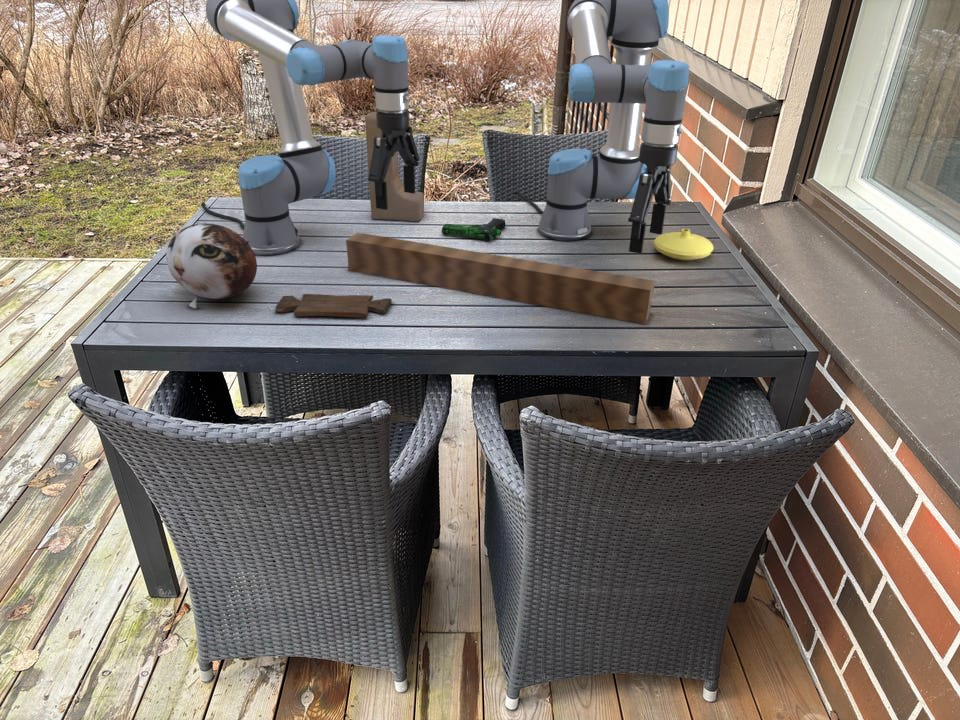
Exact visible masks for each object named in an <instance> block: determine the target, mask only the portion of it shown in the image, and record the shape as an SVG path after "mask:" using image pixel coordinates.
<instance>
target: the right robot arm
mask: <svg viewBox="0 0 960 720" xmlns="http://www.w3.org/2000/svg"><path fill="white" fill-rule="evenodd" d="M669 9H670V8H669V0H574V1H573V2H572V3H571V5H570V7H569V8H568V12H567V17H566V25H567V26H566V27H567V30H568V33H569V35H570V37H571V38H572V41H573V49H574V58H575V63H574V64H572V65H571V66H570V68H569V73H568V98H569V100H570V101H571V102H577V103H583V104H590V103H593V104H594V103H595V104H597V103H601V104H602V103H604V104H610V107H609V108H610V109H609V117H608V118H609V119H608V125H607V135H606V143H605V144H604V145H603V146H601V147H600V149H599V155H593V153H592V151H591V150H590V149H587V148H579V147H578V148H567V149H563V150H559V151H556V152H555V153H553V154H552V155H551V156H550V158H549V162H548V169H547V174H548V176H547V189H546V200H545V201H546V203H545V206H544V209H543V210H542V209H541V207H539V206H538V205H537V204H536V202H534V201H532V200H530V199H529V198H527V197H526V196H524V195H523V194H522V193H521V191H519V190H515V191H514V193H513V194H514V195H518V196H519V197H520V198H521V200H523V201H525V202H526V203H528V204H530V205H531V206H532V207H533V208H534V209H536V211H537V212H538V213H539V214H541V217H540V220H539V224H538V231H537V232H538V233H539V234H540V235H541V236H542V237H545V238H547V239H550V240H554V241H559V242H575V241H576V242H577V241H581V240H585V239H587V238H589V237H590V236H591V234H592V233H591V232H592V224H591V220H590V215H589V211H588V200H589V199H595V200H596V199H598V200H599V199H602V200H603V199H604V200H620V201H623V200H633V203H632V207H631V210H630V215H629V217H628V218H627V220H628V221H627V222H629V223H631V231H630V238H629V245H628V246H629V247H628V252H630V253H636V254H640V255H642V254H643V250H644V243H645V236H646V235H645V234H646V228H647V222H646V219H647V216H648V214H649V210H650V207H651V204H652V201H653V199H654V202H655V203H653V205H652V211H651V219H650V226H649V234H655V235H661V234H663V230H664V225H665V224H664V223H665V218H666V211H667V206H670V205H672V204H671V203H672V200H671V197H672V196H671V192H672V191H671V184H672V183H671V169H672V166H673V165H675V164H676V162H677V158H678V151H679V146H678V145H677V144H678V143H679V141H680V135H682V134H683V133H684V129H683V128H681V127H682V122H683V116H684V109H685V104H686V98H687V91H688V86H689V83H690V80H689V78H690V77H689V75H690V65H689V64H688V63H687V62H685V61H680V60H675V59H674V60H673V59H672V60H671V59H660V60H656V61H653V62H652V63H651V55H652V52H654V51H655V50H656V49H657V48H658V47H659V43H660V39H664V38H665V37H666V36H667V34H668V29H669V21H670V10H669ZM608 37H610V38H611V45H612V47H613V48H614V49H615V50H616V55H615V64H613V62H612V58H611V53H610V47H609V41H608ZM644 105H645V106H644ZM643 112H644V116H643ZM642 120H643V121H642ZM641 128H642V129H641ZM640 135H641V137H640ZM640 140H641V144H640V145H639V141H640ZM639 146H640V147H639Z"/></svg>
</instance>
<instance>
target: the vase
mask: <svg viewBox="0 0 960 720" xmlns="http://www.w3.org/2000/svg"><path fill="white" fill-rule="evenodd" d="M653 245H654V248H655V250H656V251H658V252H659V253H661V254H663V255H664V256H666V257H667V258H668V257H669V258H671V259H675V260H679V261H696V260H700V259H703V258H707V257H709V256H710V255H711V254H712V253H713V250H714V249H715V248H714V244H713V243H712V242H711V241H710V240H709V239H708V238H707V237H704V236H702V235H700V234H699V235H698V234H695V233H691V229H689V228H681V230H680V231H672V232H671V231H670V232H665V233H662V234H661V235H660V234H658V236H657V237H656V238H655V239H654V240H653Z"/></svg>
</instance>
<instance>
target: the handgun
mask: <svg viewBox="0 0 960 720" xmlns="http://www.w3.org/2000/svg"><path fill="white" fill-rule="evenodd" d="M505 228H506V220H505V219H503V218H497V217H492V219H491V220H490V221H489V222H488V223H483V224H482V225H479V224H472V225H459V224H453V223H445V224H443V226H442V227H441V235H446V236H454V237H462V238H469V239H470V238H471V239H474V240H479V241H484V242H491V241H492V240H494V239H495V238H497V237H500V236H502V230H504V229H505Z"/></svg>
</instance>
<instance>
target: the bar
mask: <svg viewBox="0 0 960 720" xmlns="http://www.w3.org/2000/svg"><path fill="white" fill-rule="evenodd" d="M345 243H346V252H347V255H346V256H347V264H348V265H347V266H348V271H349V272H353V273H358V274H359V273H360V274H365V275H370V276H376V277H381V278H387V279H392V280H398V281H403V282H409V283H414V284H420V285H425V286H429V287H430V286H431V287H437V288H441V289H448V290H453V291H458V292H464V293H470V294H475V295H481V296H485V297H486V296H487V297H492V298H499V299H502V300H509V301H513V302H520V303H525V304H530V305H536V306H541V307H548V308H551V309H552V308H553V309H558V310H562V311H563V310H565V311H569V312H574V313H580V314H586V315H592V316H596V317H603V318H609V319H612V320H620V321H625V322H630V323H636V324H642V325H646V324H647V322H648V320H649V316H650V314H651V308H652V302H653V301H652V300H653V295H654V289H655V283H656V281H655V279H654V280H653V279H647V278H641V277H634V276H629V275H623V274H616V273H610V272H605V271H604V272H603V271H598V270H591V269H587V268H586V269H585V268H579V267H572V266H566V265H561V264H556V263H555V264H554V263H548V262H542V261H536V260H529V259H524V258H517V257H511V256H505V255H500V254H499V255H498V254H493V253H486V252H479V251H473V250H469V249H462V248H455V247H449V246H444V245H437V244H431V243H425V242H419V241H418V242H417V241H413V240H407V239H400V238H394V237H388V236H382V235H377V234H376V235H375V234H369V233H363V232H356V233H354V234H353V235H351V236H349V237H348V238H346V240H345Z"/></svg>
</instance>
